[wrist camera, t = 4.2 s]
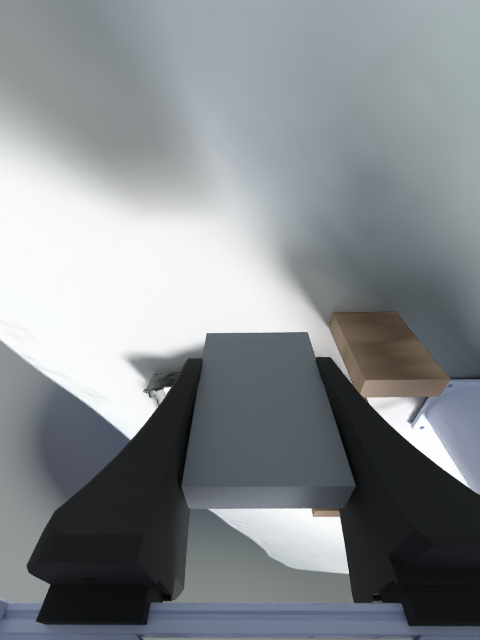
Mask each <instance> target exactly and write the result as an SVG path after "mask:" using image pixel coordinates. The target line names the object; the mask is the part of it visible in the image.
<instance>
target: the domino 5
mask: <svg viewBox="0 0 480 640" xmlns="http://www.w3.org/2000/svg"><path fill="white" fill-rule="evenodd" d="M329 329H330V331H331V334H332V336H333V338H334V341H335V343H336V345H337V348H338V350H339V352H340V355H341V357H342V359H343V362H344V364H345V366H346V369H347V371H348V373H349V376H350V378H351V380H352V383H353V385H354V387H355V388H356V390H357V391H358V392H359V393H360V394H361V395H362V397H440V395H441V393H442V392H443V390H444V389H445V387H446V386H447V384H448V383H449V381H450V380H451V379H450V378H449V376H448V375H447V374H446V373H445V372H444V370H443V369H442V368H441V367H440V365H439V364H438V363H437V362H436V361H435V359H434V358H433V357H432V356H431V354H430V353H429V352H428V351H427V349H426V348H425V347H424V346H423V345H422V343H421V342H420V341H419V340H418V338H417V337H416V336H415V335H414V333H413V332H412V331H411V330H410V329H409V327H408V326H407V325H406V324H405V322H404V321H403V320H402V319H401V317H400V316H399V315H398V314H397V313H396V312H340V313H333V314H332V319H331V323H330V327H329Z"/></svg>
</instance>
